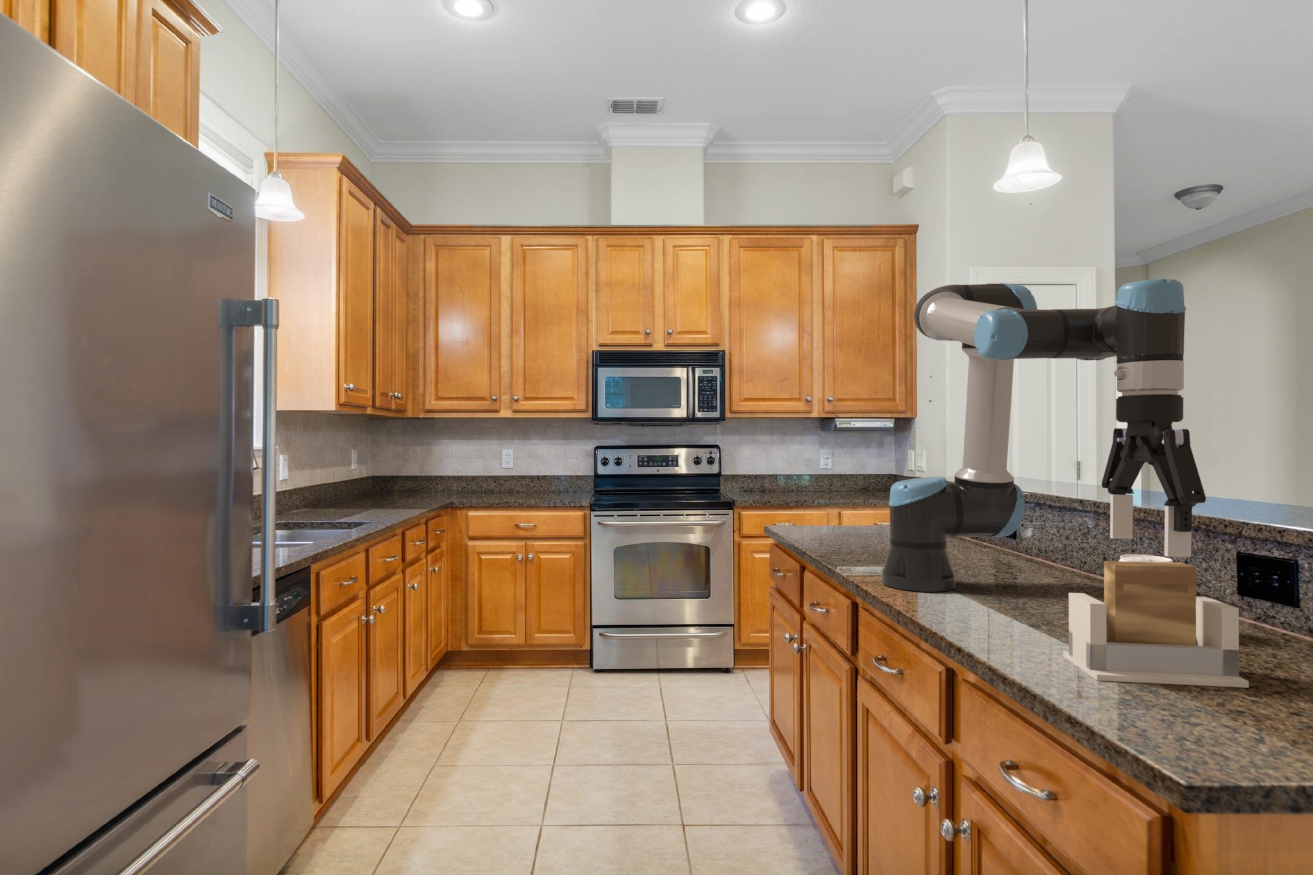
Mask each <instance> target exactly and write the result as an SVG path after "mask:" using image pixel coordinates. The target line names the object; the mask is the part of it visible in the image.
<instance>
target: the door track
mask: <svg viewBox="0 0 1313 875" xmlns="http://www.w3.org/2000/svg"><path fill="white" fill-rule="evenodd" d="M1239 609H1240V608H1239V607H1237V606H1233V605H1232V604H1227V603H1225V602H1222V601H1219V600H1217V599H1213V598H1211V597H1209V596H1196V646H1189V645H1164V644H1139V643H1113V642H1106V604H1105V603H1104V601H1101V600H1098V599H1097V598H1095V597H1093V596H1091V595H1089V594H1087V593H1085V592H1068V650H1063V652H1062V654H1063V657H1064V658H1065V659H1067V660H1068V661H1069V662H1071V663H1072V664H1073V665H1075V666H1076V667H1078V668H1079V669H1080V670H1082V671H1083V672H1084V673H1085V674H1088V675H1089V676H1090V677H1092V678H1093V679H1094V680H1095V681H1099V682H1100V681H1101V682H1102V681H1103V682H1121V683H1123V682H1124V683H1141V684H1144V683H1145V684H1146V683H1147V684H1165V685H1181V686H1183V685H1184V686H1187V685H1188V686H1206V687H1224V688H1225V687H1226V688H1246V689H1247V688H1249V687H1250V685H1249V684H1250V682H1249V681H1248V680H1246V679H1245V678H1244V677H1241V676H1240V654H1239V653H1240V652H1239V651H1240V648H1239V647H1240V643H1239V642H1240V632H1239V629H1240V625H1239V620H1240V619H1239V618H1240V617H1239V616H1240V615H1239V613H1240V612H1239V611H1240V610H1239Z"/></svg>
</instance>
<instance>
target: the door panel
mask: <svg viewBox="0 0 1313 875" xmlns="http://www.w3.org/2000/svg"><path fill="white" fill-rule="evenodd" d="M1196 597H1197V567H1196V566H1194V565H1191V564H1187V563H1183V562H1172V563H1167V562H1122V561H1119V560H1116V561H1115V560H1113V561H1112V560H1111V561H1110V560H1104V561H1103V603H1105V604H1106V642H1113V643H1139V644H1164V645H1189V646H1196Z"/></svg>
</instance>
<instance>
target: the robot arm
mask: <svg viewBox="0 0 1313 875" xmlns="http://www.w3.org/2000/svg"><path fill="white" fill-rule="evenodd" d="M1186 311H1187V308H1186V306H1185V293H1184V285H1183V283H1181V281H1180V280H1177V279H1171V278H1154V279H1152V278H1151V279H1145V280H1138V281H1133V282H1132V281H1131V282H1128V283H1125V284H1122V286H1120V288H1119V289H1118V291H1117V294H1116V300H1115V305H1112V306H1111V305H1110V306H1108V307H1103V308H1066V309H1064V308H1063V309H1062V308H1059V309H1058V308H1054V309H1038V305H1037V302H1036V299H1035V296H1034V294H1032V291H1031V290H1029V289H1028V288H1027V287H1026V286H1024V285H1022V284H1013V283H1004V282H1003V283H983V284H980V283H979V284H975V283H974V284H948V285H943V286H939V287H936V288H934V289H932V290H930V291H928V292H927V293H925V294H924V295H923V296H922V297H921V298H920V299H919V301H918V302H917V303H916V306H915V308H914V312H913V322H914V324H915V326H916V327H915V328H917V330H918V331H919V332H920V333H921V334H922V335H924V337H927V338H929V339H932V340H935V341H951V342H952V341H954V342H959V343H961V350H962V351H963V353H965V354H966V355H967V357H968V370H967V371H968V372H967V387H966V404H965V422H964V423H965V424H964V437H963V439H964V440H963V456H962V466H961V468H959V469H958V470H957V471H956V472H955V473H954V481H953V483H948V481H947V479H946V478H945V477H943V476H931V477H930V476H928V477H917V478H910V479H903V480H899V481H896V482H893V484H892V485H891V487H890V490H889V501H888V506H889V550H888V553H887V556H886V559H885V562H884V565H883V568H882V570H881V583H882V584H883V585H885V586H886V587H890V588H894V589H897V590H903V591H904V590H905V591H911V592H921V593H922V592H924V593H926V592H927V593H928V592H929V593H930V592H931V593H933V592H934V593H937V592H938V593H939V592H946V591H952V590H954V589H956V587H957V586H956V585H957V582H956V579H957V577H956V574H955V572H954V568H953V565H952V563H951V560H950V557H949V554H948V548H947V547H948V546H947V542H948V541H947V539H948V538H986V539H991V538H998V537H1007V536H1010V535H1011V536H1012V534H1014V532H1015V531H1017V530H1018V529H1019V527H1020V525H1021V523H1022V521H1023V519H1024V516H1025V515H1024V513H1025V499H1024V492H1023V491H1022V490H1023V489H1021V486H1019V485H1018V484H1015V483H1014V482H1015V477H1014V476H1013V475H1012V474H1011V472H1010V471H1009V470H1008V469H1007V468H1008V458H1009V457H1008V454H1009V438H1010V425H1011V422H1010V421H1011V408H1012V407H1011V406H1012V397H1013V396H1012V393H1013V379H1014V378H1013V377H1014V367H1015V365H1014V364H1015V359H1016V360H1018V359H1020V360H1023V359H1024V360H1025V359H1027V360H1028V359H1031V360H1032V359H1054V360H1055V359H1076V360H1079V361H1097V362H1098V361H1103V360H1105V359H1110V358H1115V357H1116V370H1115V371H1114V374H1113V376H1115V377H1116V392H1118V393H1121V396H1117V398H1116V399H1115V420H1116V421H1117V422H1118V423H1126V424H1127V426H1126V427H1125V428H1121V427H1120V428H1118V427H1116V428H1114V429H1113V432H1112V434H1113V435H1112V444H1111V448H1110V450H1109V455H1108V459H1107V462H1106V466H1105V469H1104V474H1103V477H1102V480H1101V487H1102V489H1106V490H1107V492H1108V494H1109V495H1110V502H1109V504H1110V506H1109V507H1110V510H1109V511H1110V513H1109V514H1110V515H1109V517H1110V518H1109V521H1110V522H1109V526H1110V529H1109V532H1110V533H1109V538H1110V539H1113V540H1115V539H1116V540H1120V539H1121V540H1122V539H1123V540H1133V539H1134V538H1133V537H1134V531H1133V530H1134V493H1135V491H1134V489H1133V488H1132V487H1133V486H1134V484H1135V482H1136V479H1137V478H1138V476H1139V474H1140V472H1141V470H1142V468H1143V466H1144V464H1145V463H1147V464H1148V465H1151V466H1152V467H1153V470H1154V472H1155V474H1156V476H1157V478H1158V481H1159V483H1160V484H1161V486H1162V489H1163V492H1164V494H1165V495H1166V501H1165V502H1164V504H1163V505H1164V549H1163V550H1164V551H1163V552H1164V554H1163V555H1164V556H1165V557H1167V558H1170V557H1171V558H1172V557H1173V558H1174V557H1175V558H1176V557H1177V558H1191V557H1192V528H1193V525H1192V524H1193V521H1192V520H1193V507H1195V506H1196V505H1197V504H1204V503H1205V502H1206V500H1207V496H1206V493H1205V491H1204V490H1205V489H1204V486H1203V484H1202V480H1201V476H1200V473H1199V470H1198V467H1197V463H1196V460H1195V457H1194V453H1193V451H1192V450H1193V449H1192V447H1191V435H1190V434H1191V433H1190V430H1189V429H1188V428H1173V423H1180V422H1182V421H1183V419H1184V397H1183V395H1181V394H1179V391H1183V390H1184V389H1185V381H1184V380H1185V361H1184V356H1185V354H1184V353H1185V348H1184V347H1185V329H1186V328H1185V327H1186V326H1185V324H1186V323H1185V322H1186Z"/></svg>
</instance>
